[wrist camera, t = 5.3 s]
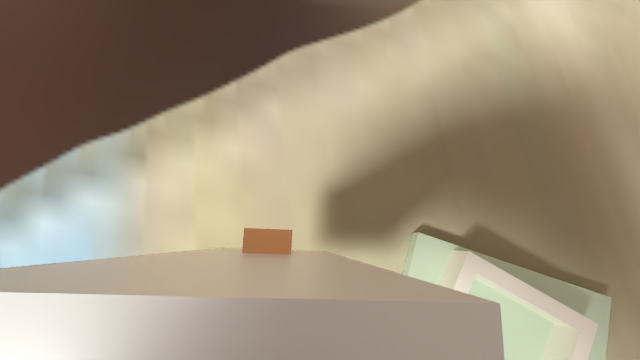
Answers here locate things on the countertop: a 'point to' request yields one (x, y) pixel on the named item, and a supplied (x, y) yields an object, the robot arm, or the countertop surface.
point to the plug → (239, 309)
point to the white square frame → (525, 304)
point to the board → (517, 321)
